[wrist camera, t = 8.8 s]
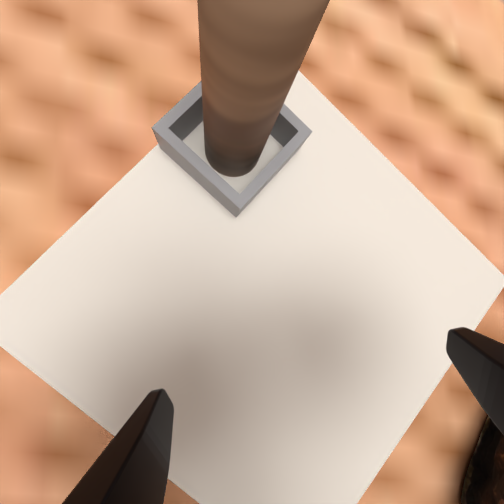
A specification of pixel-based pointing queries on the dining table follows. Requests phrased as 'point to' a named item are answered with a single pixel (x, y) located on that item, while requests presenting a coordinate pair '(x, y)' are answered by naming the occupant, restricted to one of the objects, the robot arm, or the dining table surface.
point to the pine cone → (486, 469)
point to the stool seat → (256, 306)
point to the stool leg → (249, 72)
